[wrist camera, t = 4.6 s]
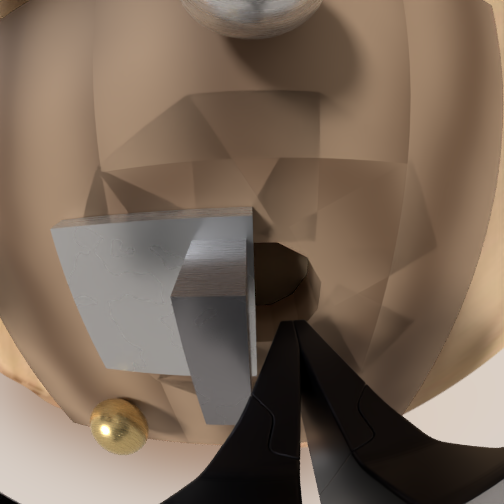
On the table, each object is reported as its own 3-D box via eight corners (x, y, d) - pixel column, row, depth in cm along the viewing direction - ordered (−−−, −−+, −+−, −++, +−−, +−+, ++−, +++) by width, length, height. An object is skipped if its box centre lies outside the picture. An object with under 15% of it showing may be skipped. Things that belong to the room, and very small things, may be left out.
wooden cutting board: (459, 13, 7) (491, 5, 4) (386, 400, 19) (394, 425, 16) (-22, 62, 7) (-51, 64, 4) (82, 399, 19) (73, 422, 16)
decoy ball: (143, 390, 13) (129, 444, 10) (160, 421, 15) (151, 468, 12) (90, 382, 13) (71, 430, 10) (112, 413, 15) (99, 456, 12)
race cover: (252, 206, 9) (254, 266, 6) (256, 362, 12) (258, 432, 9) (61, 220, 9) (1, 269, 6) (111, 356, 12) (87, 415, 9)
